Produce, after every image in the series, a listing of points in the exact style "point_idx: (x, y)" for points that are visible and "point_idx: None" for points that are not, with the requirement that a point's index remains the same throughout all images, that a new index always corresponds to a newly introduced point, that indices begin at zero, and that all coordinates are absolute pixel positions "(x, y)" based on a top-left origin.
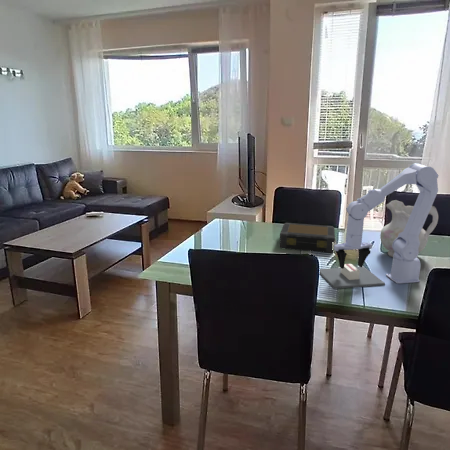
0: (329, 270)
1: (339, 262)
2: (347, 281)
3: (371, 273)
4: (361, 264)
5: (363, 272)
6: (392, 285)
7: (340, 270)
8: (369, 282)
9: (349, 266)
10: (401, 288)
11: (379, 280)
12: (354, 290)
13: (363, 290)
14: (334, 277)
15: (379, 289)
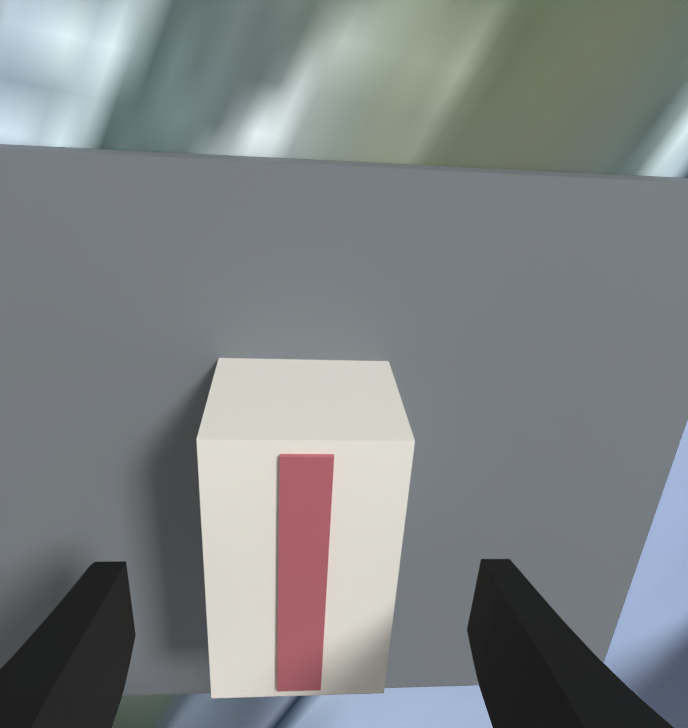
0: (37, 248)
1: (47, 632)
2: (185, 614)
3: (656, 461)
4: (483, 692)
5: (573, 416)
6: (654, 671)
7: (250, 282)
8: (439, 658)
9: (300, 557)
10: (680, 721)
11: (589, 631)
12: (196, 717)
13: (291, 723)
14: (44, 499)
15: (463, 720)
